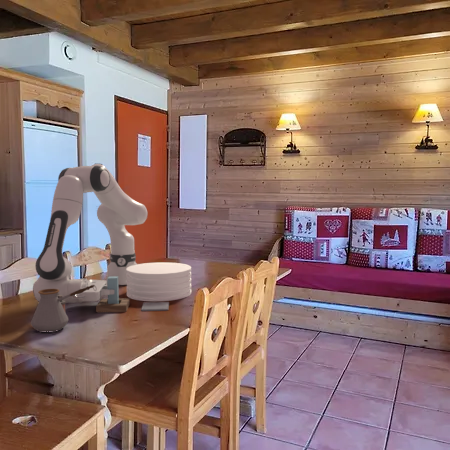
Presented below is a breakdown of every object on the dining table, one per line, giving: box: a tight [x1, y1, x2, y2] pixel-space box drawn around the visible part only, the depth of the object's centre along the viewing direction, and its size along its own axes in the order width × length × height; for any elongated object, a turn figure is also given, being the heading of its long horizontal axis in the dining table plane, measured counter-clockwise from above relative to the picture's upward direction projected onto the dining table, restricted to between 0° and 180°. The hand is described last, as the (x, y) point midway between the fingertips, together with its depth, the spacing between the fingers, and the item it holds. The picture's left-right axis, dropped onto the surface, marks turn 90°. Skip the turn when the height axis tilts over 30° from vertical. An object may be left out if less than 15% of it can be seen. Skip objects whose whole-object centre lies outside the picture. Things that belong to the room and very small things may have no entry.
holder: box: [95, 297, 131, 313], centre depth 176 cm, size 11×11×2 cm
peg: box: [106, 276, 120, 304], centre depth 175 cm, size 4×4×12 cm
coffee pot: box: [30, 285, 97, 332], centre depth 149 cm, size 21×12×15 cm, turn 87°
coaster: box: [141, 301, 170, 312], centre depth 177 cm, size 10×10×1 cm
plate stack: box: [126, 262, 192, 302], centre depth 200 cm, size 28×28×12 cm
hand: (115, 290), depth 175 cm, fingers closed on peg, 4 cm apart
